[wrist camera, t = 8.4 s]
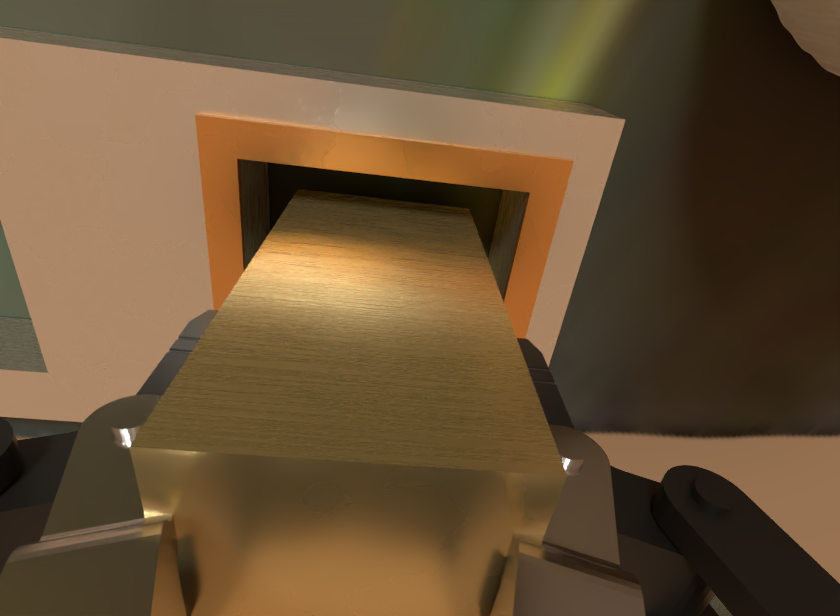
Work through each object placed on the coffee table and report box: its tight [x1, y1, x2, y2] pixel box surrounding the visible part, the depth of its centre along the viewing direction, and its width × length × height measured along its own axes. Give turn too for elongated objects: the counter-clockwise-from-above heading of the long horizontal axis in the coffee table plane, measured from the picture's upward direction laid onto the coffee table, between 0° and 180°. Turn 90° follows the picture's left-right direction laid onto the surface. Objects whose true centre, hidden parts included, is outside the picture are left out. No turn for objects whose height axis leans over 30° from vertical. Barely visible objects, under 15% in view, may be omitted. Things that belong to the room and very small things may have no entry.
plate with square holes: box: [0, 26, 625, 422], centre depth 13 cm, size 10×22×3 cm, turn 83°
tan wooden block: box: [129, 189, 567, 616], centre depth 10 cm, size 4×4×9 cm
